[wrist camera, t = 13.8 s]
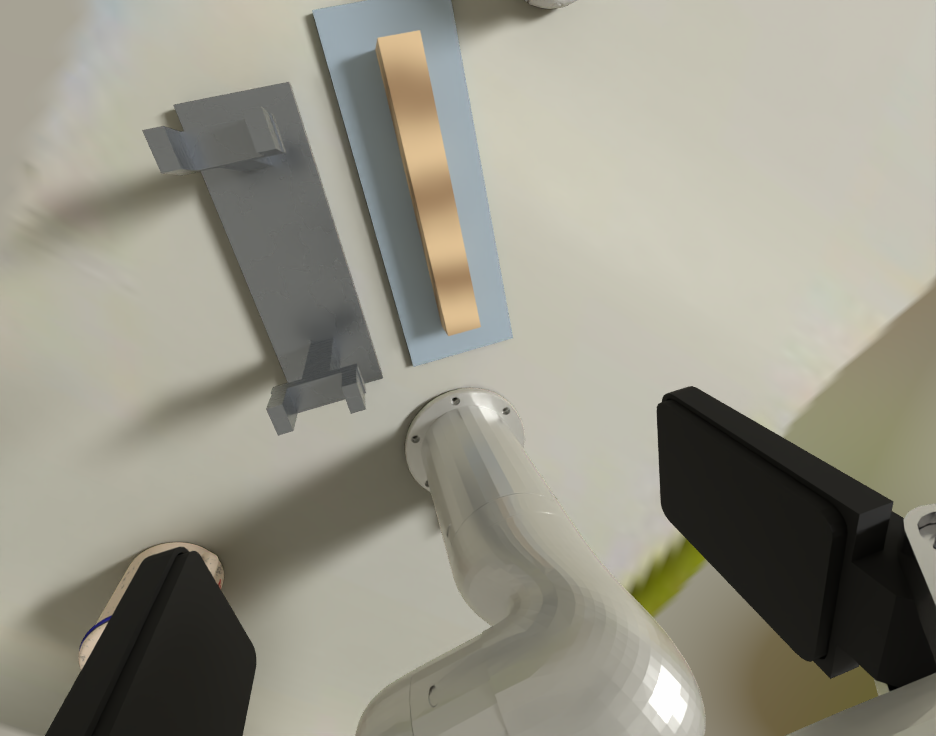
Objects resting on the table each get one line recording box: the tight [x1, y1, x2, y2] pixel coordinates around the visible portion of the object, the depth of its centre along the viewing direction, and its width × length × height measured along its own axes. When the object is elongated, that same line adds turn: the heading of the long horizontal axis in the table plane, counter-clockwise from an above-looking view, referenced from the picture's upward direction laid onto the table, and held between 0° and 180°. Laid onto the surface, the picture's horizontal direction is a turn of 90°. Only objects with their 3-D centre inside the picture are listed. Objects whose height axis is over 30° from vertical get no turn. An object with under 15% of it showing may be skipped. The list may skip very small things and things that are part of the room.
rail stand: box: [142, 82, 383, 435], centre depth 33 cm, size 24×8×13 cm, turn 13°
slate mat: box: [312, 0, 513, 367], centre depth 39 cm, size 28×10×1 cm, turn 13°
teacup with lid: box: [79, 542, 224, 670], centre depth 41 cm, size 12×9×12 cm
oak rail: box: [375, 30, 481, 336], centre depth 38 cm, size 22×3×3 cm, turn 12°
